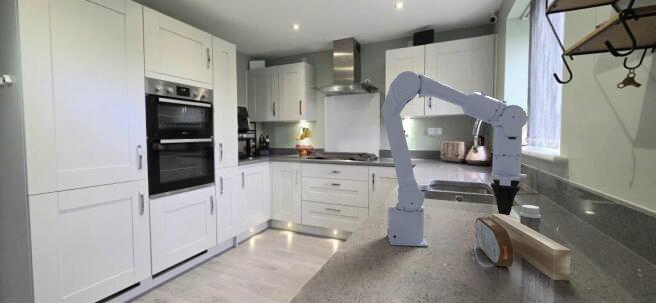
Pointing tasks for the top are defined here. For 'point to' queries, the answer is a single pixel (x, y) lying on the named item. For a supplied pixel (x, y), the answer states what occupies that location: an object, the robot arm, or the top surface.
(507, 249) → the tin
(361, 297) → the top surface
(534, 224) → the pill bottle
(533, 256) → the board
